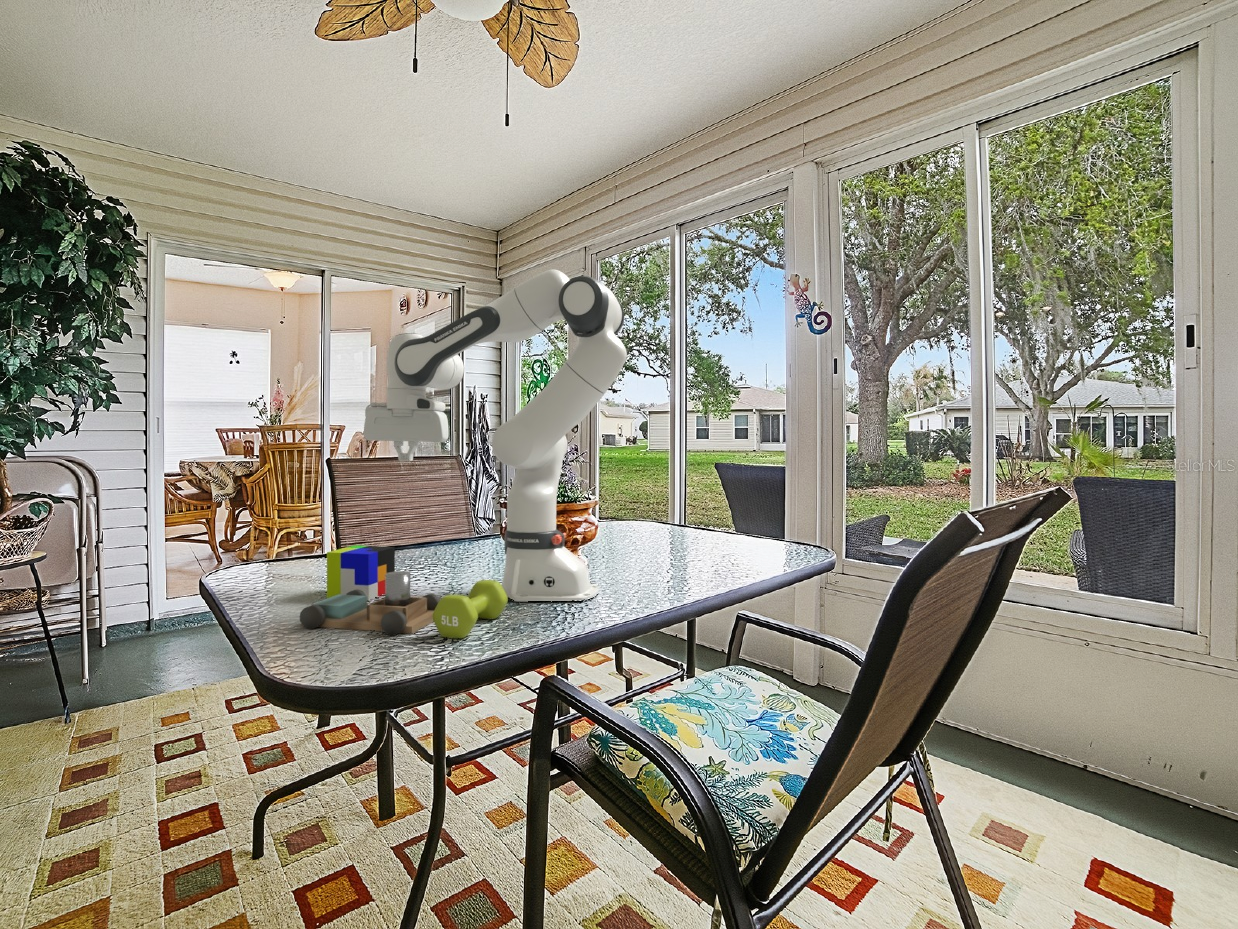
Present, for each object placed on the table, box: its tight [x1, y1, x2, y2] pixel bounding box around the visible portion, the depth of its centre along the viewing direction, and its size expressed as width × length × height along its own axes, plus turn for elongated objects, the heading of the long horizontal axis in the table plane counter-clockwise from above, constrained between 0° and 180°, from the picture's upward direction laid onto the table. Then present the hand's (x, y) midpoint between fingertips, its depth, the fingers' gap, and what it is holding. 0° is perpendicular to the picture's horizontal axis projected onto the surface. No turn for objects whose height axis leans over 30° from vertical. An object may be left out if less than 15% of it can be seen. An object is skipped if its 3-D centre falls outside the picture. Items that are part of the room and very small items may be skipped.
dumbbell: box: [432, 579, 509, 640], centre depth 113 cm, size 16×8×7 cm, turn 165°
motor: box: [384, 570, 411, 607], centre depth 115 cm, size 5×5×8 cm
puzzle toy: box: [326, 545, 396, 601], centre depth 137 cm, size 10×10×10 cm
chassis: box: [299, 589, 441, 636], centre depth 116 cm, size 22×14×4 cm, turn 79°
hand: (405, 460), depth 148 cm, fingers closed
